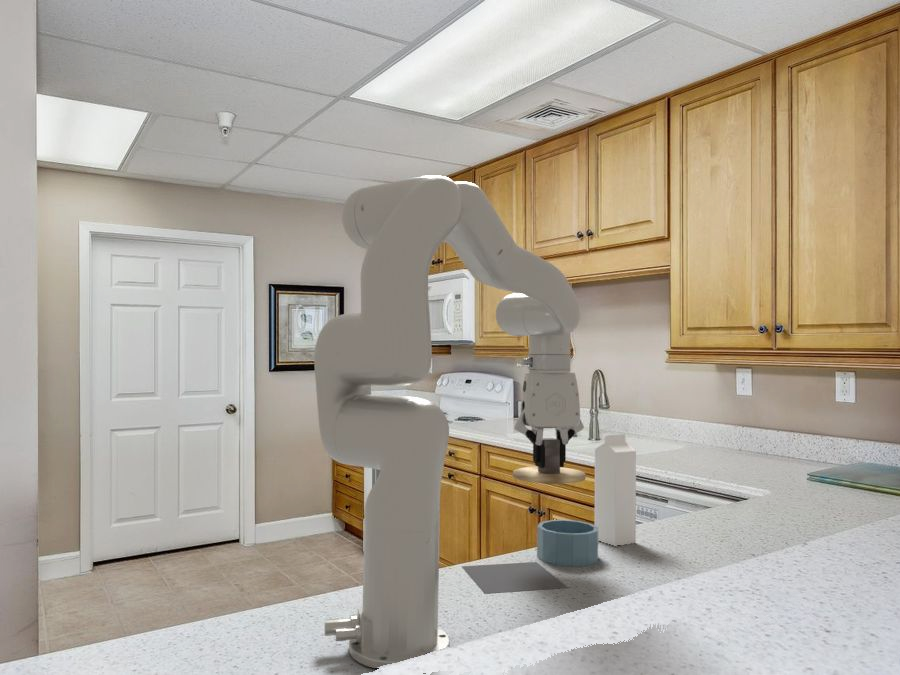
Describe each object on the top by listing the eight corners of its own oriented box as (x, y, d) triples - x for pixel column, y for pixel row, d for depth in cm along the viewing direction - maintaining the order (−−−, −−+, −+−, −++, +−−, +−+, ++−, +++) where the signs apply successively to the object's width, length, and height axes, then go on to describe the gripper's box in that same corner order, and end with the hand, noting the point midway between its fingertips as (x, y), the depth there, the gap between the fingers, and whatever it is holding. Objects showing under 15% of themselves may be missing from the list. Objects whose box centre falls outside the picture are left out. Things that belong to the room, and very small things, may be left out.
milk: (635, 543, 134) (637, 435, 135) (615, 547, 131) (616, 436, 132) (613, 536, 139) (615, 432, 140) (593, 539, 136) (594, 433, 137)
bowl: (551, 570, 115) (551, 535, 115) (529, 552, 126) (529, 521, 126) (608, 566, 118) (608, 532, 118) (581, 549, 128) (582, 518, 129)
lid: (528, 485, 110) (528, 444, 110) (503, 472, 123) (503, 435, 123) (598, 482, 113) (598, 442, 114) (567, 469, 126) (567, 434, 126)
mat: (484, 596, 101) (484, 593, 101) (461, 569, 115) (461, 566, 115) (568, 590, 104) (568, 587, 105) (536, 564, 118) (536, 561, 118)
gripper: (514, 364, 113) (513, 471, 113) (600, 365, 117) (600, 468, 116) (500, 364, 120) (499, 464, 120) (581, 364, 124) (581, 461, 124)
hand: (549, 465), depth 118 cm, fingers closed on lid, 3 cm apart
